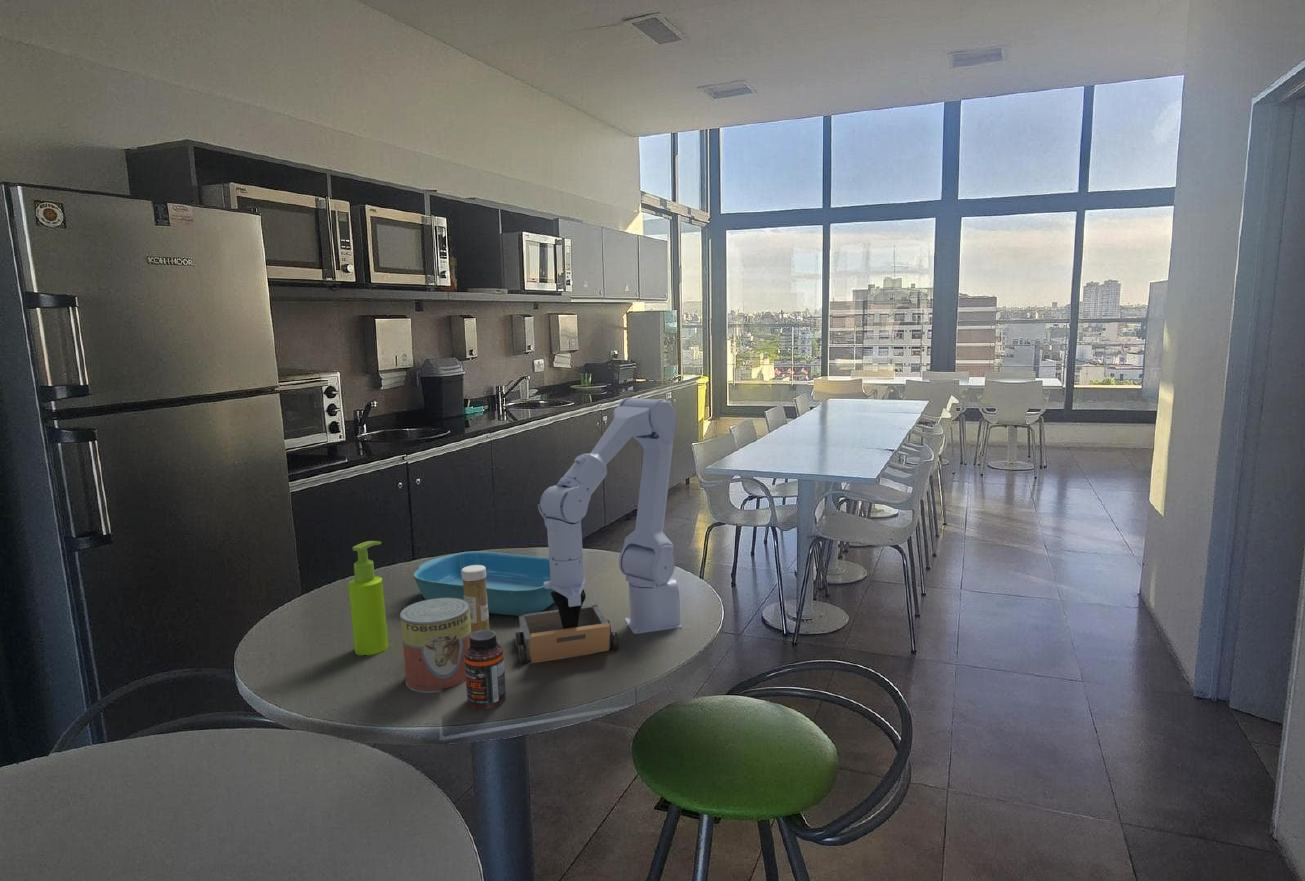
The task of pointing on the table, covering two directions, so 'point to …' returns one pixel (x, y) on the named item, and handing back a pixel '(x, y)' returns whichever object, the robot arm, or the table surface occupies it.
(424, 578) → the casserole dish
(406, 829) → the table surface
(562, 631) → the panel
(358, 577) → the soap dispenser
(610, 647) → the trailer
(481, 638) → the supplement bottle
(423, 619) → the canned food
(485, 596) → the sprinkles bottle
